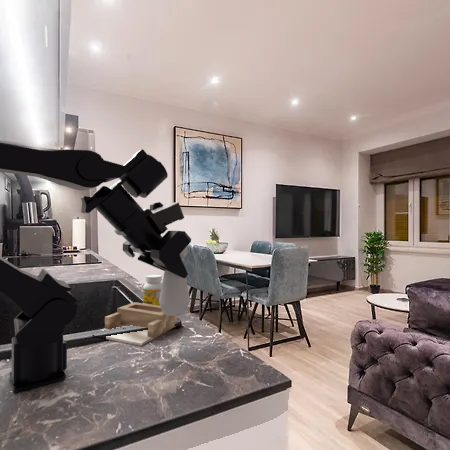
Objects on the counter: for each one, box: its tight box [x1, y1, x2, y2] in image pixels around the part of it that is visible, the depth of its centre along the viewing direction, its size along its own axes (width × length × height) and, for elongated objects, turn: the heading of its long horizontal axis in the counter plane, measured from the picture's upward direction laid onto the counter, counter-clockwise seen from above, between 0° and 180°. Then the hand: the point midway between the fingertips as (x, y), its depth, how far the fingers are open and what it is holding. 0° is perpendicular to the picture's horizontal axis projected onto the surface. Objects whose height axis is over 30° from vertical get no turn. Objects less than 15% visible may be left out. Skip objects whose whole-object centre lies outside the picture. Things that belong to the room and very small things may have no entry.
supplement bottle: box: [142, 274, 163, 306], centre depth 81 cm, size 5×5×10 cm
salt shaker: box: [159, 247, 191, 317], centre depth 59 cm, size 6×6×13 cm
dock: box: [101, 301, 178, 347], centre depth 67 cm, size 13×12×4 cm
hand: (181, 274), depth 60 cm, fingers closed on salt shaker, 3 cm apart
